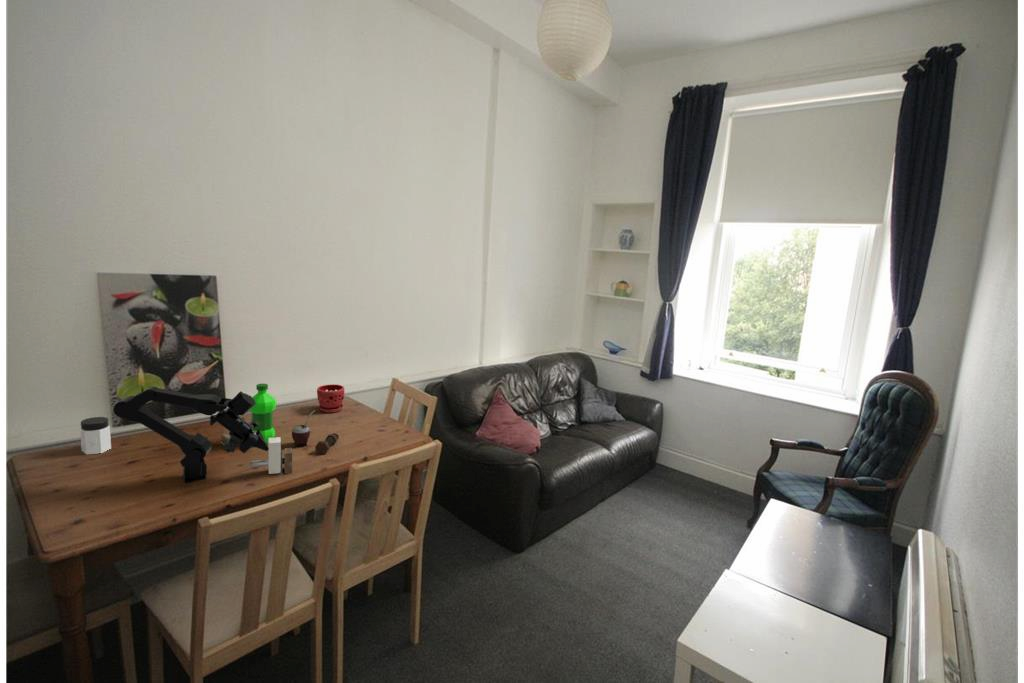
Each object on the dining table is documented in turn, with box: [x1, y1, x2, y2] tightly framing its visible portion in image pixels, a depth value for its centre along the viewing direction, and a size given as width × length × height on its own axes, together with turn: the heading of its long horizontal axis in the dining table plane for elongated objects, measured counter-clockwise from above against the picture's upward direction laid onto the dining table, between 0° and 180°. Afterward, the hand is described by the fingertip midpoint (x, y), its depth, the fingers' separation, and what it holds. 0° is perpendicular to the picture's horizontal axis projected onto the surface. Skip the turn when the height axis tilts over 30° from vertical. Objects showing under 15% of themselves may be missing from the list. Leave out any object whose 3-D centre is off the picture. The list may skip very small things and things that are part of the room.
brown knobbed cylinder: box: [314, 433, 340, 455], centre depth 217 cm, size 6×5×15 cm
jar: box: [79, 416, 112, 456], centre depth 194 cm, size 9×8×12 cm
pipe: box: [249, 457, 285, 468], centre depth 189 cm, size 12×3×3 cm, turn 115°
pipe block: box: [276, 447, 293, 475], centre depth 191 cm, size 5×5×8 cm
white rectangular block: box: [268, 436, 283, 475], centre depth 190 cm, size 5×5×12 cm
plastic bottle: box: [249, 383, 277, 444], centre depth 213 cm, size 10×10×25 cm
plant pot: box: [316, 384, 345, 413], centre depth 260 cm, size 13×13×12 cm
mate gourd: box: [291, 409, 316, 448], centre depth 215 cm, size 8×8×15 cm
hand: (267, 449), depth 188 cm, fingers closed, pressing on white rectangular block
